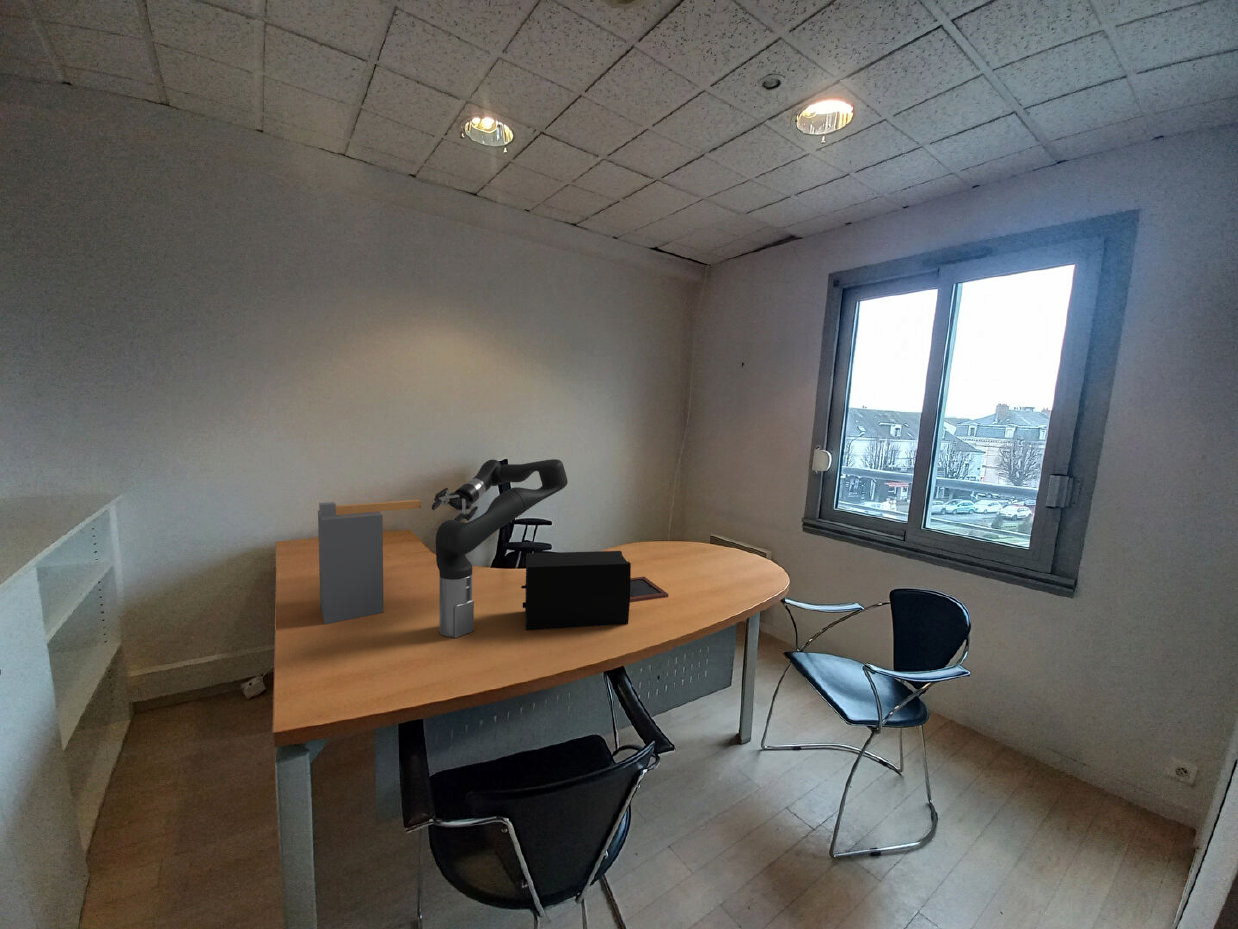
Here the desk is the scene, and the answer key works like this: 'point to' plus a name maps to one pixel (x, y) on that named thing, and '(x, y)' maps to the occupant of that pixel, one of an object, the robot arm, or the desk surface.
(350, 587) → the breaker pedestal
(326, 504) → the lever bar
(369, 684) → the desk surface
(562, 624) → the uninterruptible power supply
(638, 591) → the picture frame
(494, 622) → the desk surface
